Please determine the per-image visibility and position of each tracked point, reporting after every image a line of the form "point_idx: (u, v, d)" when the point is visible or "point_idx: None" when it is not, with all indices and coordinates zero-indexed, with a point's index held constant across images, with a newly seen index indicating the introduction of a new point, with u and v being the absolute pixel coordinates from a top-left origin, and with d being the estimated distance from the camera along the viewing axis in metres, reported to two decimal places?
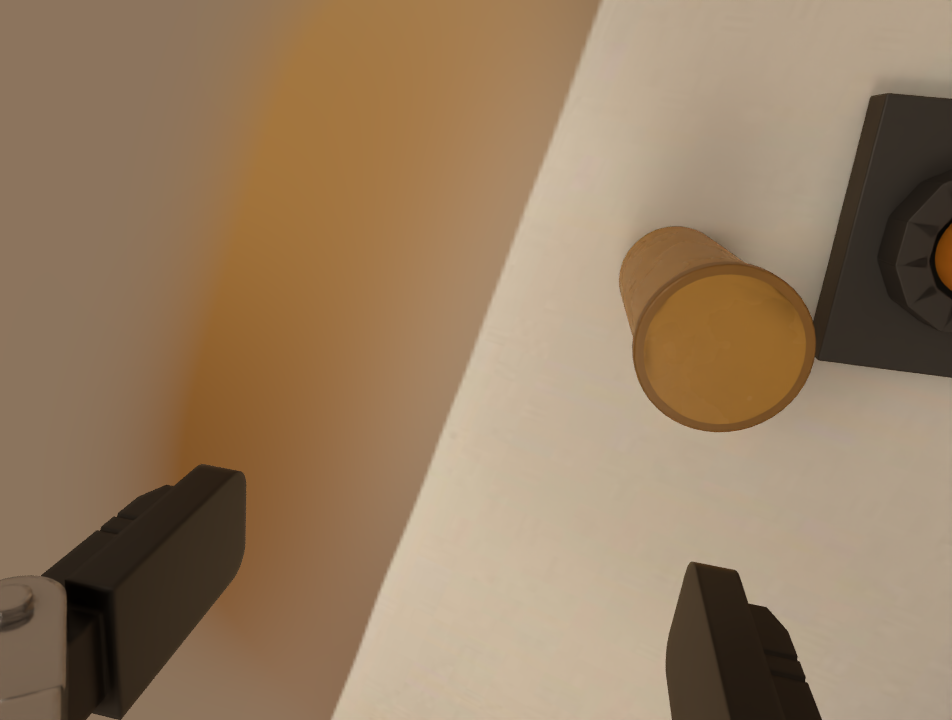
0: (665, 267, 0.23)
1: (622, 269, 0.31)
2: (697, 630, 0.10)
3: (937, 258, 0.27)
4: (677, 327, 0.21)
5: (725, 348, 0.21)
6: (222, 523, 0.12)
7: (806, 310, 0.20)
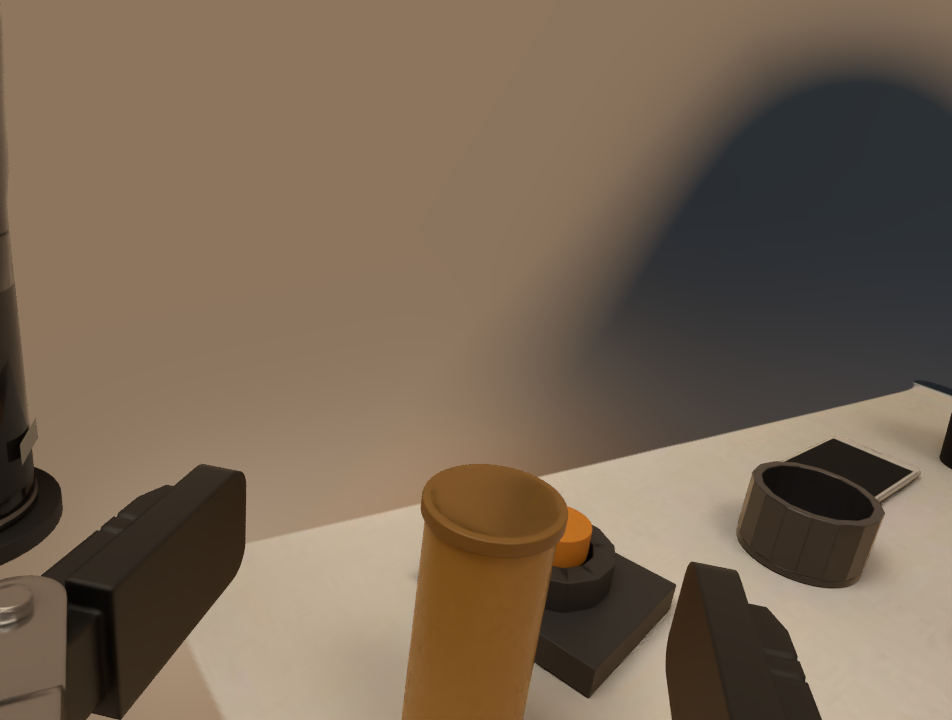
0: None
1: None
2: (697, 630, 0.10)
3: None
4: (457, 506, 0.24)
5: (494, 498, 0.25)
6: (222, 523, 0.12)
7: (496, 465, 0.27)
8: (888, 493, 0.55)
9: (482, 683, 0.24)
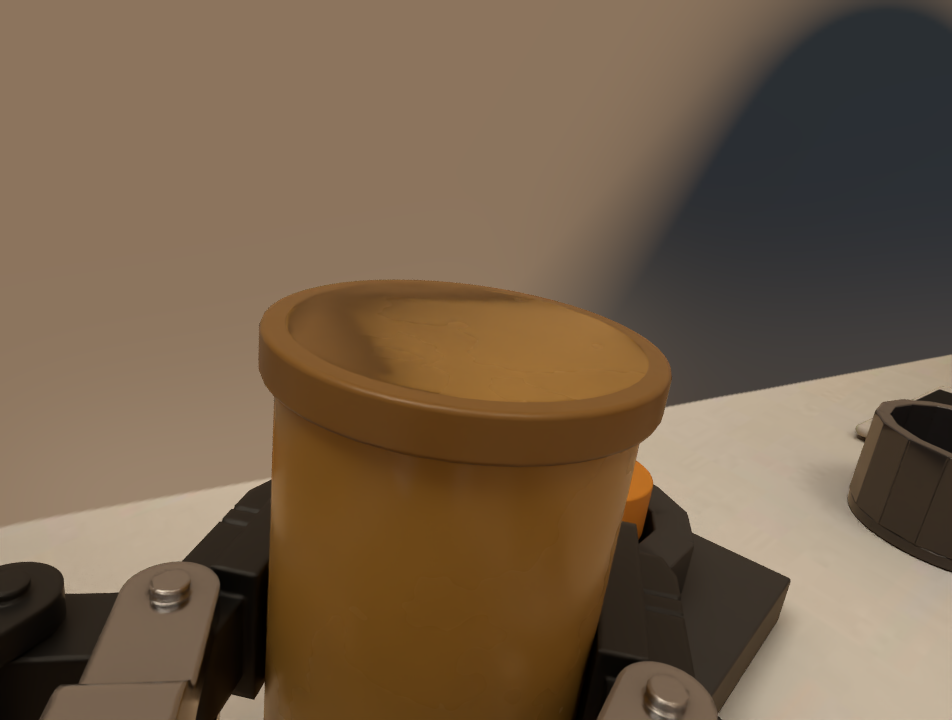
0: None
1: None
2: None
3: None
4: (356, 334, 0.08)
5: (465, 327, 0.09)
6: None
7: None
8: None
9: None
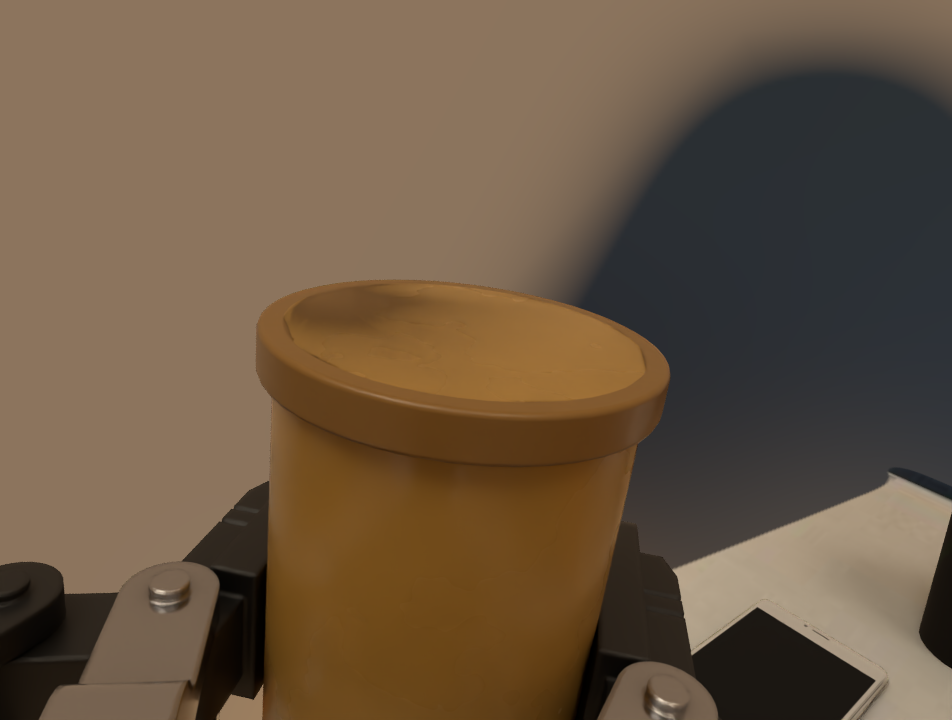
0: None
1: None
2: None
3: None
4: (354, 335, 0.08)
5: (463, 327, 0.09)
6: None
7: None
8: None
9: None
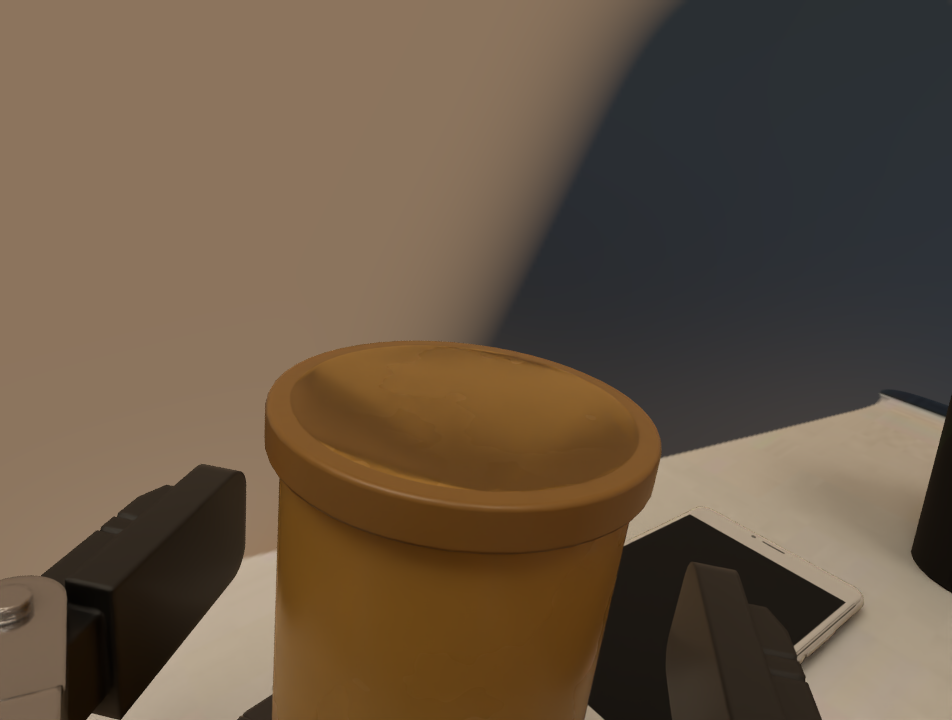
0: None
1: None
2: (697, 630, 0.10)
3: None
4: (358, 414, 0.09)
5: (463, 399, 0.09)
6: (222, 523, 0.12)
7: None
8: None
9: None
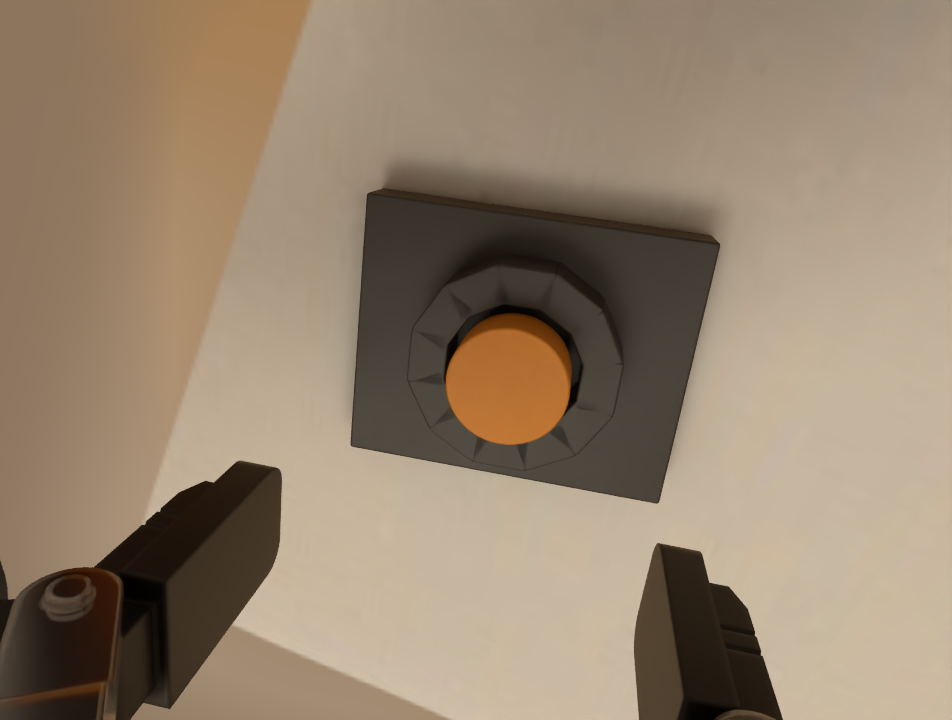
0: None
1: None
2: (659, 607, 0.11)
3: None
4: None
5: None
6: (260, 518, 0.12)
7: None
8: None
9: None
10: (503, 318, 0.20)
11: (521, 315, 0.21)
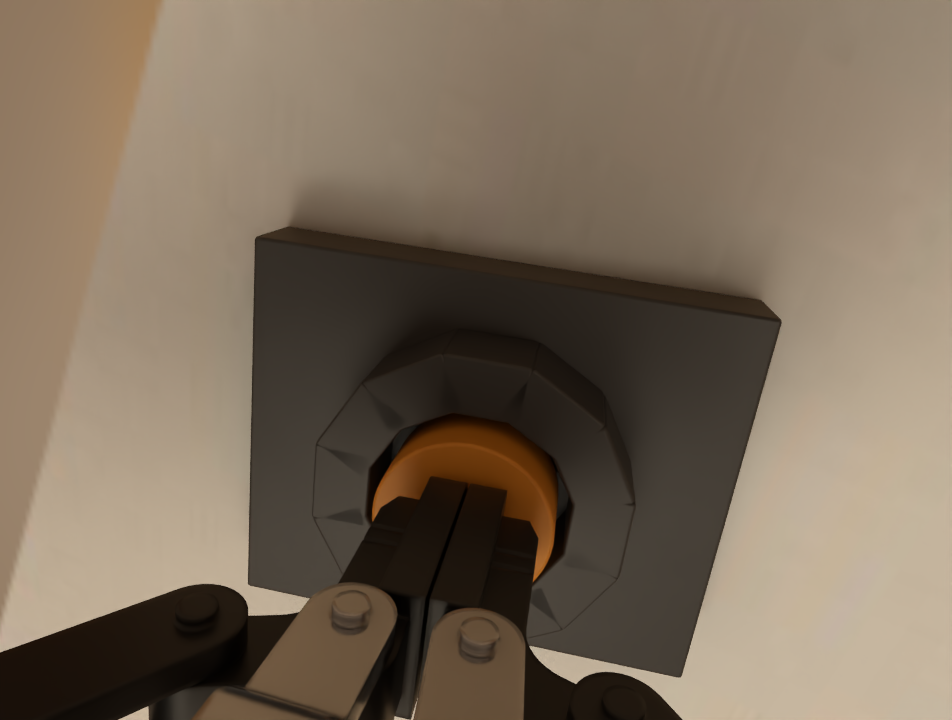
0: None
1: None
2: None
3: None
4: None
5: None
6: None
7: None
8: None
9: None
10: (458, 421, 0.14)
11: None
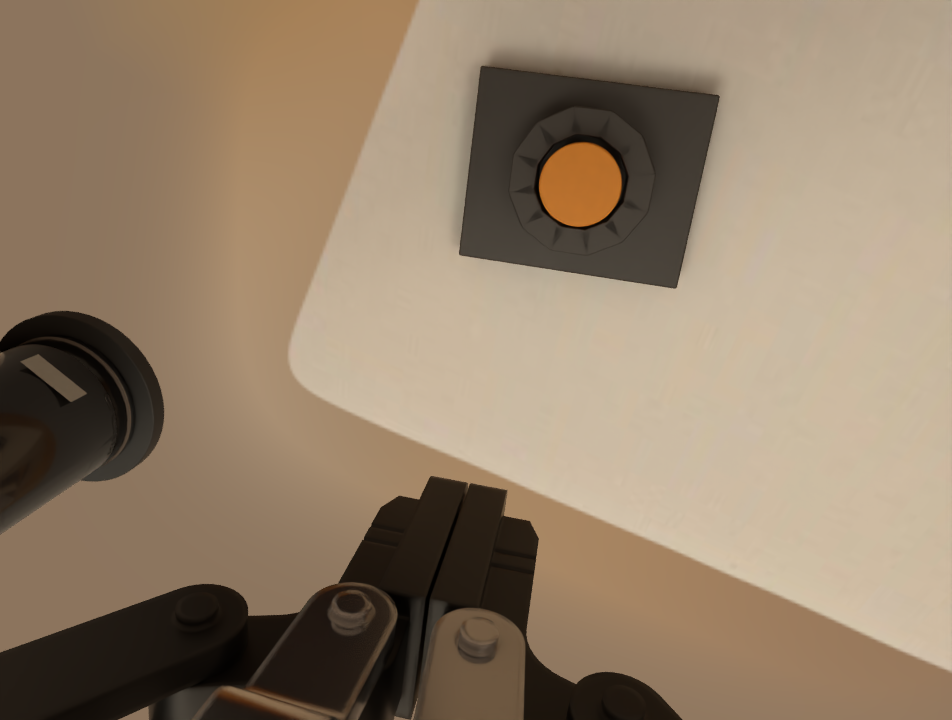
0: None
1: None
2: None
3: None
4: None
5: None
6: None
7: None
8: None
9: None
10: (576, 142, 0.31)
11: (588, 142, 0.31)
